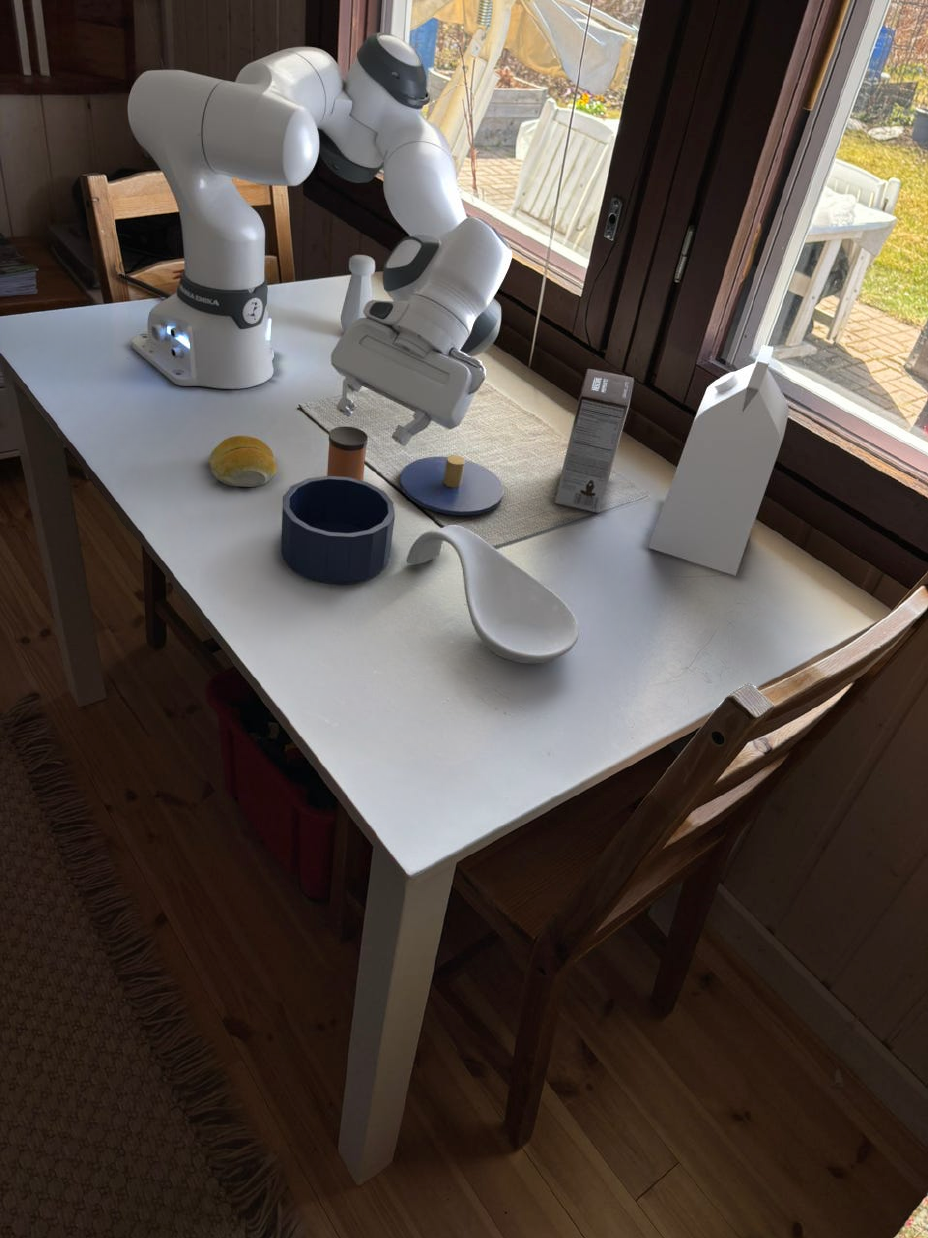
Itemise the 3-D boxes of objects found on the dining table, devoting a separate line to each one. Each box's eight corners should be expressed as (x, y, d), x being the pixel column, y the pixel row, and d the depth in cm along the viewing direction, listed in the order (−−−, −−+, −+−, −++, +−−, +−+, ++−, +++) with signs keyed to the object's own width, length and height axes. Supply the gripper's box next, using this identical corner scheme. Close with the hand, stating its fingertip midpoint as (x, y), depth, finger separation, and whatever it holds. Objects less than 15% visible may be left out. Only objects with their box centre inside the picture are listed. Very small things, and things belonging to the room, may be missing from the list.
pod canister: (317, 487, 122) (320, 433, 118) (343, 475, 126) (347, 422, 121) (344, 503, 120) (349, 449, 116) (370, 490, 124) (375, 437, 119)
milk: (735, 575, 121) (811, 386, 105) (648, 547, 123) (709, 357, 107) (746, 530, 130) (818, 350, 114) (664, 505, 132) (724, 324, 116)
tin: (258, 548, 110) (258, 500, 106) (333, 510, 119) (337, 464, 115) (337, 599, 105) (341, 550, 101) (410, 555, 114) (417, 509, 110)
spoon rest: (593, 656, 104) (609, 605, 100) (515, 695, 97) (529, 642, 93) (456, 546, 117) (464, 496, 112) (378, 573, 110) (384, 522, 105)
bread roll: (269, 452, 127) (270, 425, 125) (279, 488, 121) (280, 460, 118) (206, 453, 125) (205, 426, 122) (212, 489, 118) (212, 461, 116)
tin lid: (377, 486, 125) (381, 454, 122) (443, 453, 134) (447, 423, 131) (459, 531, 119) (465, 500, 116) (522, 494, 129) (528, 464, 126)
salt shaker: (339, 325, 164) (344, 248, 156) (372, 328, 165) (379, 252, 157) (339, 339, 159) (345, 261, 151) (373, 342, 160) (381, 265, 152)
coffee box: (561, 471, 135) (587, 365, 125) (605, 482, 135) (635, 376, 125) (553, 503, 128) (580, 394, 118) (600, 514, 127) (630, 405, 118)
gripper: (499, 378, 120) (441, 470, 120) (378, 321, 128) (323, 407, 128) (484, 353, 114) (423, 449, 114) (358, 295, 123) (301, 386, 122)
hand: (369, 427), depth 121 cm, fingers open, 8 cm apart
